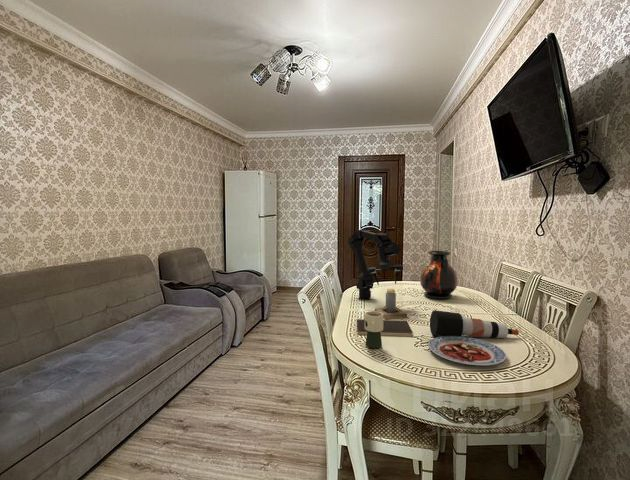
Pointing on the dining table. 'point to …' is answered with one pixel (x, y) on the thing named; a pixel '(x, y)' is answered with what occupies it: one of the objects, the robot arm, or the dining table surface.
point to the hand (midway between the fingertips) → (387, 284)
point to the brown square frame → (398, 313)
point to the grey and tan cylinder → (390, 301)
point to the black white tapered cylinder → (466, 326)
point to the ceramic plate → (467, 350)
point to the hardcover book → (388, 328)
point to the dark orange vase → (438, 277)
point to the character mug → (373, 328)
